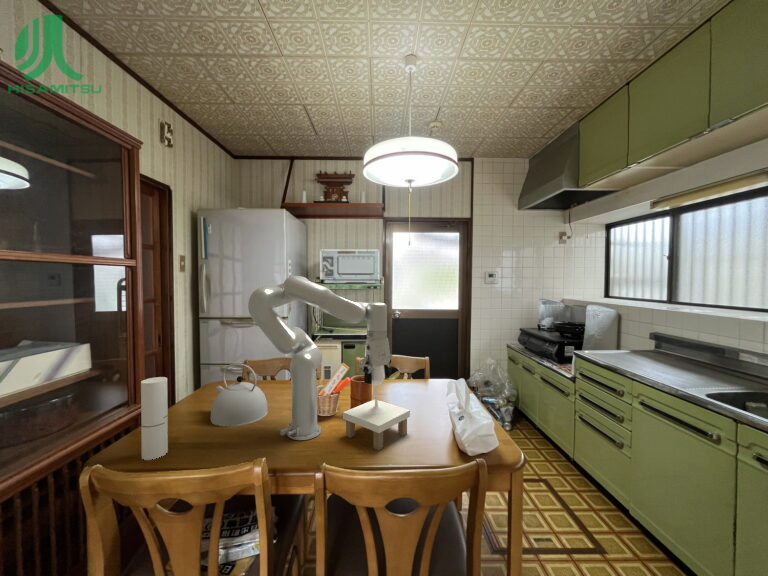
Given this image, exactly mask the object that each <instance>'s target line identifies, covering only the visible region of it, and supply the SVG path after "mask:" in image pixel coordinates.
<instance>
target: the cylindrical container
mask: <svg viewBox="0 0 768 576" xmlns="http://www.w3.org/2000/svg"><path fill="white" fill-rule="evenodd" d="M140 399H141V400H140V405H141V406H140V407H141V414H140V417H141V419H140V420H141V460H143V459H144V460H143V461H151V460H152V459H153V460H157V459H159V457H160V458H162V457H163V456H166V453H167V454H168V452H169V448H168V447H169V446H168V444H169V443H168V442H169V439H168V438H169V437H168V434H169V432H168V430H169V428H168V421H169V420H168V419H169V418H168V416H169V415H168V412H169V410H168V377H165V376H158V377H157V376H156V377H150V378H146V379H144V380H141V382H140ZM161 456H162V457H161ZM156 458H157V459H156ZM153 460H152V461H153Z"/></svg>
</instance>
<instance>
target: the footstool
mask: <svg viewBox="0 0 768 576" xmlns="http://www.w3.org/2000/svg"><path fill="white" fill-rule="evenodd" d="M374 406H375V398H374V399H372V400H370V401H367V402H365V403H363V404H360V405H358V406H356V407H353V408H350V409H348V410H345V411H343V412H342V419H343V420H345V436H346V437H347V438H352V437H354V436H356V425H357V426H360V427H363V428H364V429H367V430H370V431H373V441H372V442H373V443H372V444H373V449H374V448H375V450H376V449H377V451H380V450H381V449H383V448H384V431H386V430H388V429H390V428H392V427H393V426H395V425H397V424H398V425H397V426H398V427H397V435H399V434H400V436H402V437H404V436H406V435H407V434H408V419H409V418H410V417H411V410H410V409H407V408H404V407H401V406H398V405H395V404H391V403H388V402H385V401H383V400H382V401H381V400H379V399H378V406H379V407H381V408H382V409H384V410H385V412H384V413H383V414H379V415H373V414H370V413H368V410H369V409H371V408H372V407H374Z"/></svg>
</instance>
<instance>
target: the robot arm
mask: <svg viewBox="0 0 768 576" xmlns="http://www.w3.org/2000/svg"><path fill="white" fill-rule="evenodd" d="M294 301H299V302H302V303H304V304H306V305H309V306H311V307H314V308H316V309H319V310H320V311H322V312H323V313H325V314H328V315H330V316H332V317H335V318H336V319H340V320H342V321H343V322H346V323H349V324H355V325H357V324H359V323H361V322H362V321H366V335H365V336H366V339H365V346H364V347H365V348H364V358H363V359H362V360H360V361H359V366H360V369H361V370H362V372H363V373H364V374H363V375H364V376H363V377H364V378H363V379H364V384H367V385H373V384H372V373H370V372H371V370H372V368H373V367H379V366H382V365H384V371H385V378H386V379H388V378H389V377H390V372H389V370H390V367H391V363H392V359H393V354H392V353H391V352H390V350H391V349H390V342H389V338H388V308H387V307H388V306H387V304H386V303H385V302H379V301H378V302H364V301H351V300H349V299H347V298H344V297H342V296H340V295H337V294H335V293H334V292H333V291H332V290H331V289H330V288H328V287H326V286H323V285H322V284H321V285H320V284H318V283H316V282H312V281H310V280H309V279H308V278H307V277H304V276H300V275H290V276H288V277H287V278H285V280H284V281H283V283H280V284H277V285H275V286H261V287H258V288H256V289H255V290H253V292H252V293H251V294H250V297H249V298H248V303H247V309H248V313H249V316H250V318H251V319H252V320H253V322H254V323H255V324H256V325H257V327H259V329H260V330H261V331H262V332H263V334H264V335H265V337H266V338H267V339H268V340H269V341H270V342H271V344H272V345H273V346H274V348H275V349H277V351H278V352H279V353H281V354H284V355H287V354H291V353H292V354H293V357H292V358H291V360H290V362H289V374H290V381H291V422H289V423H288V426H287V427H286V428H282V429H280V431H279V435H280V436H285V435H287V437H288V438H289V439H291V440H295V441H308V440H312V439H314V438H316V437H318V436H319V435H320V434H321V433H322V427H321V425H319V424H318V379H317V369H318V368H319V367H320V366H321V364H322V361H323V353H322V352H321V349H320V348H319V347H318V346H317V345H316V344H315V342H314V341H313V340H312V339H311V337H310V336H309V335H308V334H307V333H306V331H304V329H302V328H300V327H298V326H294V325H293V326H289V325H288V324H287V323H286V321H285V320H284V319H283V317H281V316H280V314H278V312H276V311H275V310H274V308H278V307H281V306H283V305H286V304H288V303H291V302H294ZM368 367H369V369H368Z"/></svg>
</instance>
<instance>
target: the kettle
mask: <svg viewBox="0 0 768 576" xmlns="http://www.w3.org/2000/svg"><path fill="white" fill-rule="evenodd" d="M232 366H233V367H235V366H236V367H237V366H239V367H244V368H247V369H249V371H250V372H251V373H252V375H253V379H254V380H253V381H254V383H251V382H247V381H244V382H243V380H244V376H242V375H238V376H236V377H237V378H236V382H234V383H231V384H230V385H228V384H227V381H226V377H225V376H226V372H227V370H228V369H229V368H230V367H232ZM222 381H223V384H224V387H225V388H224V387H223V386H221V385H218V386H215V387H214V388H215V391H216V392H217V393H218V394H217V395H216V397H215V399H214V400H213V403H212V405H211V408H210V420H211V421H210V422H212V423H211V424H213V425H214V424H215V425H214V426H217V425H218V427H225V426H227V427H228V428H229V427H238V426H244V425H249V424H252V423H255V422H258V421H259V420H262V419H263V418H264V417H266V416H267V414H268V401H267V398H266V395H265V393H264V391H262V389H261V388H260V387H259V386H257V375H256V373H255V371H254V369H252V367H250V366H249V365H247V364H244V363H231V364H229V365H227V366H226V367H225V368H224V370H223V372H222Z"/></svg>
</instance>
